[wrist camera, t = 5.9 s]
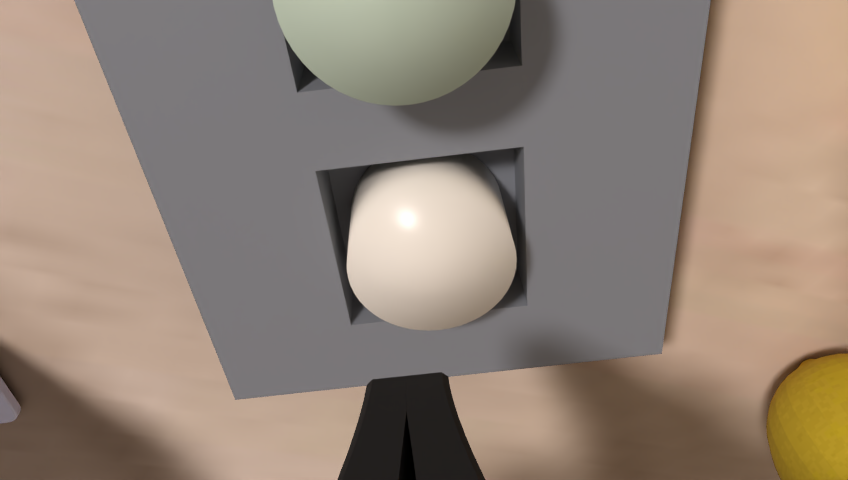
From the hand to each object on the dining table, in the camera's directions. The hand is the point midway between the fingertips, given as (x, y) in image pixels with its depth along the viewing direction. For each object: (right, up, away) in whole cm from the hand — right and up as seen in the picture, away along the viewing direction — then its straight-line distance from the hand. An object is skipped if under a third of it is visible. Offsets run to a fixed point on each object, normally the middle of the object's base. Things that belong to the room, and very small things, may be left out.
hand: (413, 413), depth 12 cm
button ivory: (0, +4, +7) cm, 8 cm away
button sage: (0, +9, +1) cm, 9 cm away
